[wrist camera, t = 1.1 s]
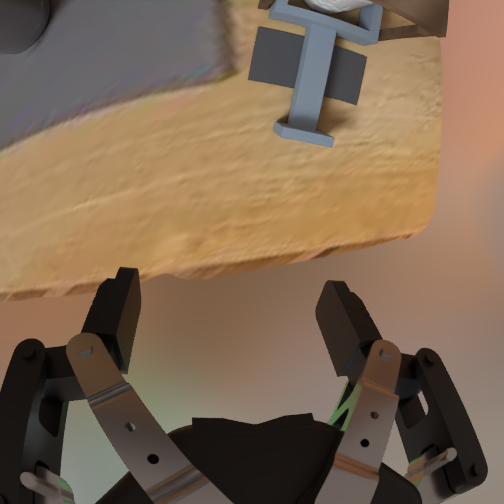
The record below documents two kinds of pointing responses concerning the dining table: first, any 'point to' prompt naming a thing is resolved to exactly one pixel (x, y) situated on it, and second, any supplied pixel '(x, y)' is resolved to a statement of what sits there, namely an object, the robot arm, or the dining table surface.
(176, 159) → the dining table surface
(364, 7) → the sled frame
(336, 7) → the white cup
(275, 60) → the mat
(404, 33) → the small brown wooden table
